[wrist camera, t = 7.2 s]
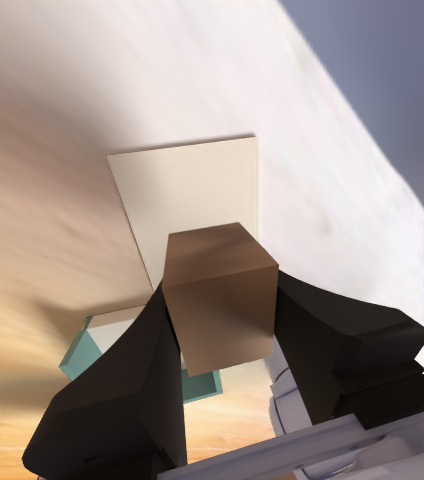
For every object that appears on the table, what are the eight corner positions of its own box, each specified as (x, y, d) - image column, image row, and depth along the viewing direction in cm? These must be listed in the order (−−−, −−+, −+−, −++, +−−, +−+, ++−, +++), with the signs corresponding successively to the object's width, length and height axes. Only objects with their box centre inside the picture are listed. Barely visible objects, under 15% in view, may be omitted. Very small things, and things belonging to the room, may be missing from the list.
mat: (256, 137, 17) (258, 136, 17) (256, 269, 24) (258, 271, 24) (107, 155, 15) (106, 155, 15) (155, 290, 23) (154, 292, 22)
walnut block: (238, 221, 11) (278, 264, 7) (241, 292, 14) (271, 355, 9) (168, 233, 11) (161, 287, 6) (185, 303, 13) (189, 377, 9)
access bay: (204, 292, 24) (211, 330, 19) (215, 351, 30) (222, 393, 25) (87, 317, 23) (58, 366, 17) (123, 374, 29) (110, 423, 23)
